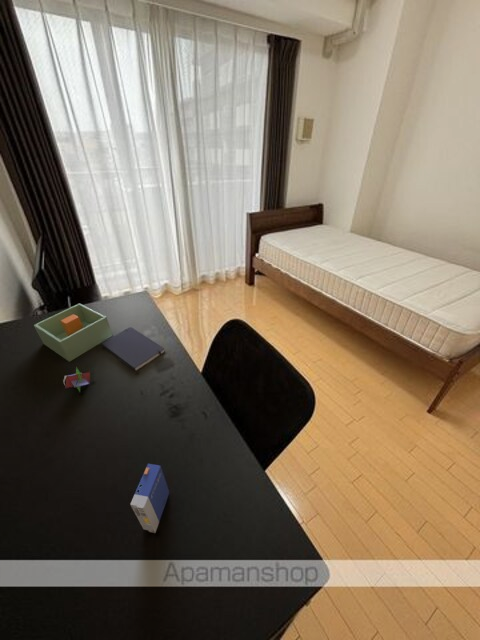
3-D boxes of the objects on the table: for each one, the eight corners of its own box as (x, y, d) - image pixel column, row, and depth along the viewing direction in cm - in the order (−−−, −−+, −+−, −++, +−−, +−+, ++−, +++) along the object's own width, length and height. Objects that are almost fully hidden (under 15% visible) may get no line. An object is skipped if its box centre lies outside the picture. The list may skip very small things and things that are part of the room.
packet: (69, 339, 107) (60, 320, 102) (81, 333, 110) (73, 314, 105) (74, 343, 105) (65, 323, 100) (86, 336, 109) (78, 316, 104)
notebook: (101, 345, 105) (135, 371, 94) (100, 342, 104) (134, 368, 93) (131, 329, 113) (165, 351, 102) (130, 326, 112) (165, 348, 101)
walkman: (158, 490, 64) (147, 462, 57) (169, 492, 64) (160, 464, 57) (142, 531, 58) (128, 505, 51) (155, 533, 57) (142, 508, 50)
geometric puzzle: (92, 367, 93) (69, 360, 87) (100, 378, 89) (77, 372, 82) (78, 386, 92) (54, 380, 86) (86, 398, 88) (62, 393, 82)
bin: (43, 343, 107) (33, 325, 101) (86, 321, 118) (79, 303, 113) (69, 361, 98) (59, 342, 93) (112, 335, 110) (106, 316, 105)
